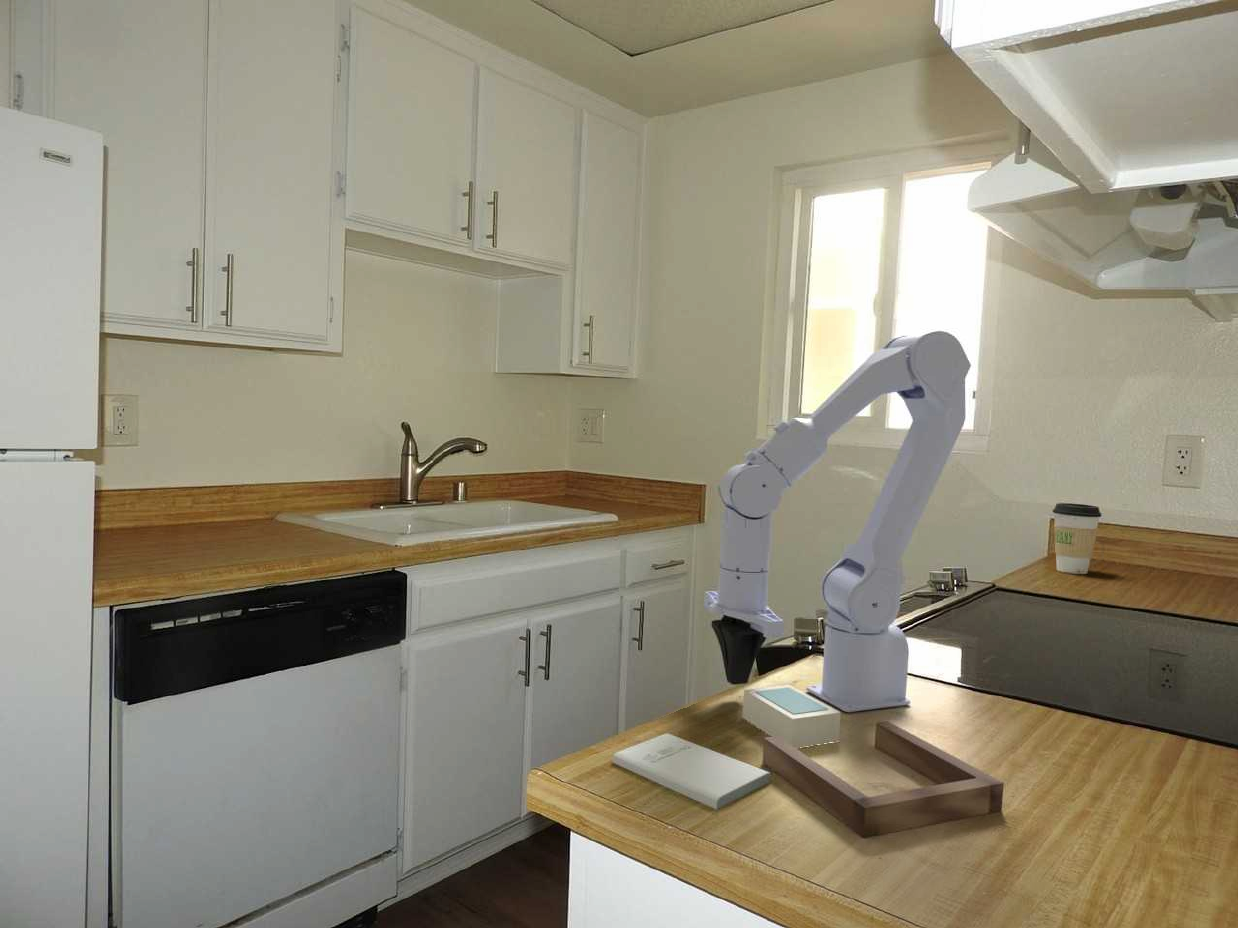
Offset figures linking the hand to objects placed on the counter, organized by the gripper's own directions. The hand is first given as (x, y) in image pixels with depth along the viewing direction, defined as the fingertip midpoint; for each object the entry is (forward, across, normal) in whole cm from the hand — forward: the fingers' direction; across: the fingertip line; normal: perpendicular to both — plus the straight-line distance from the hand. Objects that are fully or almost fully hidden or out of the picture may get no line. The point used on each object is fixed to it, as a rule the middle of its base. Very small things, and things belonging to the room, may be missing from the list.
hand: (737, 682), depth 101 cm
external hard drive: (+3, +16, -15) cm, 22 cm away
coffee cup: (+2, -52, +119) cm, 130 cm away
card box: (+2, +10, +1) cm, 10 cm away
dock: (+2, +24, +1) cm, 24 cm away
